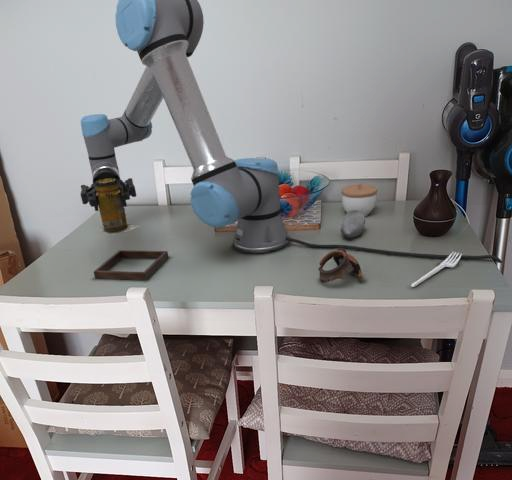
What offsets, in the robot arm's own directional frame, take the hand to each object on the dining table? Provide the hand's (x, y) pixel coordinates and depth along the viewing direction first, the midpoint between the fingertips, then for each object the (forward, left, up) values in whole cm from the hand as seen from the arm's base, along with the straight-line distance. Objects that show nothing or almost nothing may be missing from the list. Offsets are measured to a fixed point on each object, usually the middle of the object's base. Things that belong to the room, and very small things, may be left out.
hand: (110, 203), depth 125 cm
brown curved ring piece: (-53, -12, -19) cm, 58 cm away
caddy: (+2, -5, -19) cm, 20 cm away
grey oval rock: (-48, -41, -19) cm, 66 cm away
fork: (-74, -21, -19) cm, 79 cm away
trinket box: (-45, -59, -19) cm, 77 cm away
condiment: (+3, -4, -8) cm, 10 cm away
